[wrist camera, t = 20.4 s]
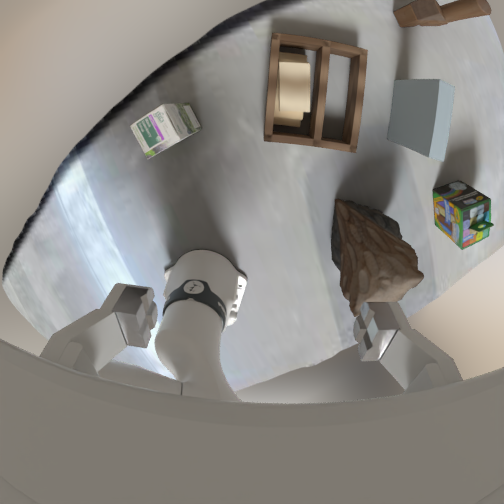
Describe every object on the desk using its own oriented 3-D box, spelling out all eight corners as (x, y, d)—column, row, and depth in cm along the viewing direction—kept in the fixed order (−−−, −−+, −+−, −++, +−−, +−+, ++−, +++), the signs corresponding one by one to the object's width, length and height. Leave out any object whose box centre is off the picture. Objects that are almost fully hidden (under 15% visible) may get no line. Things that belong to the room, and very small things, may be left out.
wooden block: (392, 11, 29) (443, -13, 14) (432, 11, 27) (486, -4, 11) (399, 27, 31) (454, 9, 15) (439, 26, 28) (495, 16, 13)
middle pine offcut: (300, 119, 41) (302, 119, 39) (273, 115, 41) (273, 116, 39) (306, 63, 36) (308, 62, 34) (278, 60, 36) (279, 58, 34)
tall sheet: (399, 142, 43) (443, 162, 31) (386, 139, 43) (428, 157, 31) (407, 84, 37) (454, 86, 24) (394, 80, 37) (439, 79, 24)
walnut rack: (347, 147, 45) (355, 153, 41) (263, 137, 45) (264, 141, 41) (357, 53, 35) (367, 49, 31) (271, 39, 35) (272, 32, 31)
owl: (389, 211, 51) (437, 265, 34) (368, 261, 57) (400, 325, 40) (335, 195, 50) (371, 249, 33) (316, 251, 57) (337, 319, 39)
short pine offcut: (307, 111, 39) (309, 112, 37) (278, 110, 39) (279, 111, 37) (307, 65, 34) (310, 63, 33) (278, 63, 35) (279, 62, 33)
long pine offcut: (298, 125, 44) (299, 127, 42) (271, 122, 44) (272, 124, 42) (304, 57, 37) (307, 55, 35) (278, 54, 37) (278, 51, 35)
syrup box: (161, 117, 43) (126, 127, 31) (189, 101, 42) (161, 103, 29) (176, 143, 46) (145, 161, 33) (204, 128, 44) (181, 140, 32)
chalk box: (434, 225, 52) (468, 260, 39) (431, 188, 48) (471, 218, 35) (462, 214, 50) (498, 246, 37) (461, 179, 46) (502, 205, 33)
